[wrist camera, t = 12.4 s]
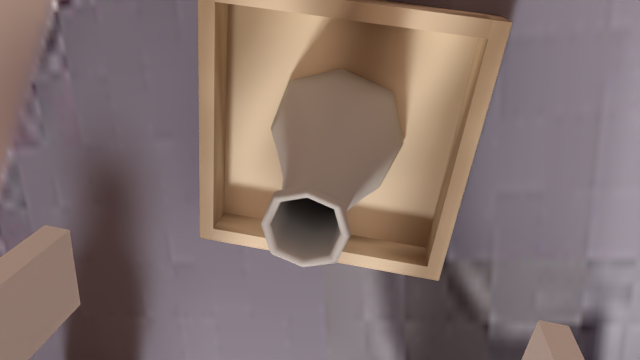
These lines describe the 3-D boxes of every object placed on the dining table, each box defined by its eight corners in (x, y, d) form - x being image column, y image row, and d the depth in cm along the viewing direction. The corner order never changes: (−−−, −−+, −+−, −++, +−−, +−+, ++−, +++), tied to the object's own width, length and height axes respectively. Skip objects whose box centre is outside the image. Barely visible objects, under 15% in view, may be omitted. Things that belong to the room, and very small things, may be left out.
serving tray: (500, 15, 22) (512, 22, 20) (435, 255, 28) (438, 280, 26) (216, -22, 23) (197, -20, 21) (214, 216, 29) (200, 237, 27)
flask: (273, 60, 24) (200, 120, 15) (414, 74, 23) (427, 148, 14) (270, 184, 27) (209, 295, 18) (394, 200, 26) (393, 325, 17)
